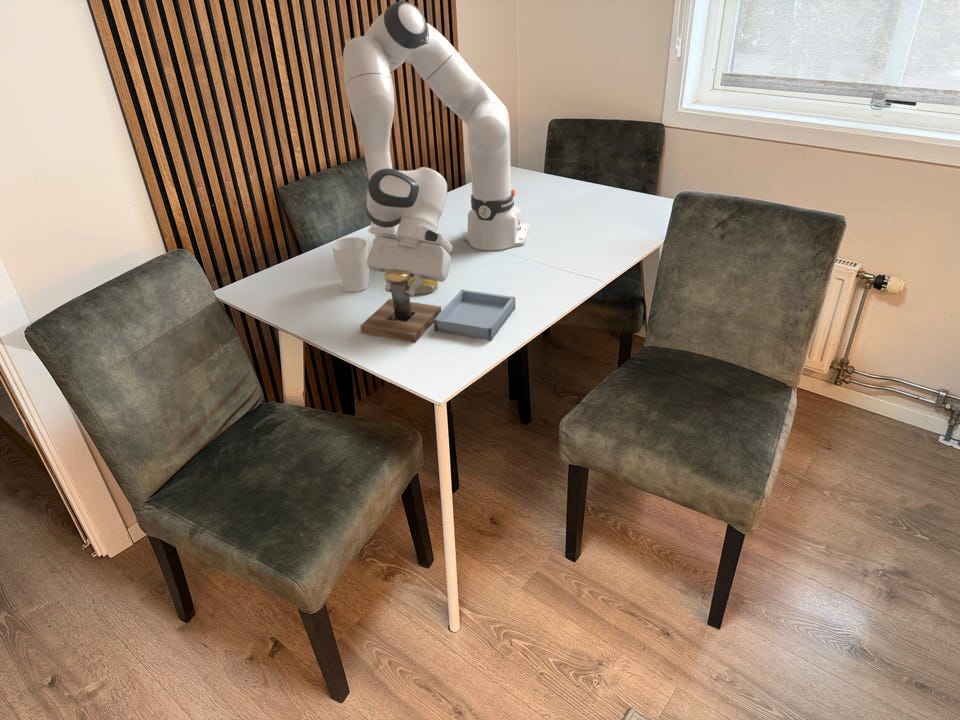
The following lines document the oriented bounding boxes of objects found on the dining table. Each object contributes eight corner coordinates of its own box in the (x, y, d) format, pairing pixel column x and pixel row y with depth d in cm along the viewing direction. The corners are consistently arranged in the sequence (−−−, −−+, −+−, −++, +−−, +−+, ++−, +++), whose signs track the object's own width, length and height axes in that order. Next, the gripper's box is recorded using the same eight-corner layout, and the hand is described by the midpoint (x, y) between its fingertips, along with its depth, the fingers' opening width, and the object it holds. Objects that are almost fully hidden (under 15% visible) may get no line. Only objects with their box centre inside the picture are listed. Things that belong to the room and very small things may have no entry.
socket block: (390, 305, 165) (389, 298, 164) (441, 313, 161) (441, 306, 160) (361, 333, 155) (360, 325, 154) (415, 342, 150) (414, 334, 149)
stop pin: (398, 309, 160) (392, 266, 154) (419, 312, 158) (414, 269, 152) (387, 320, 155) (380, 276, 149) (408, 323, 153) (402, 279, 147)
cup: (336, 283, 178) (328, 240, 172) (369, 276, 180) (363, 234, 174) (342, 297, 171) (335, 253, 164) (377, 290, 173) (371, 247, 167)
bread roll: (434, 278, 178) (433, 264, 176) (440, 293, 171) (439, 278, 168) (403, 282, 177) (402, 269, 175) (408, 297, 169) (406, 283, 167)
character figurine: (370, 265, 187) (364, 224, 180) (375, 251, 195) (369, 211, 188) (401, 264, 186) (396, 223, 180) (405, 250, 194) (400, 210, 188)
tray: (462, 300, 166) (461, 289, 165) (515, 308, 161) (515, 297, 160) (434, 331, 154) (433, 319, 152) (491, 340, 149) (490, 328, 147)
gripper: (371, 226, 156) (354, 282, 154) (448, 236, 148) (431, 295, 146) (383, 237, 162) (367, 291, 160) (459, 247, 154) (442, 304, 152)
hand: (398, 293), depth 153 cm, fingers closed on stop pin, 4 cm apart
